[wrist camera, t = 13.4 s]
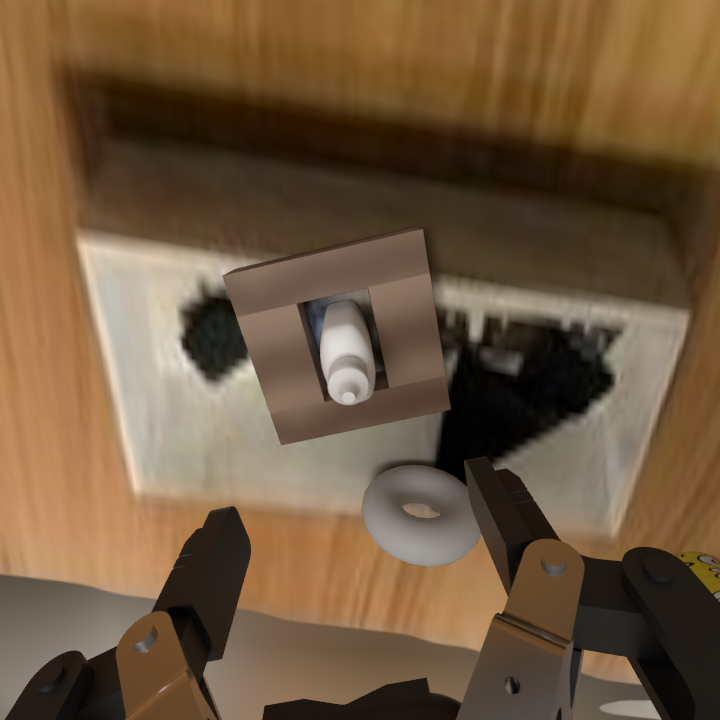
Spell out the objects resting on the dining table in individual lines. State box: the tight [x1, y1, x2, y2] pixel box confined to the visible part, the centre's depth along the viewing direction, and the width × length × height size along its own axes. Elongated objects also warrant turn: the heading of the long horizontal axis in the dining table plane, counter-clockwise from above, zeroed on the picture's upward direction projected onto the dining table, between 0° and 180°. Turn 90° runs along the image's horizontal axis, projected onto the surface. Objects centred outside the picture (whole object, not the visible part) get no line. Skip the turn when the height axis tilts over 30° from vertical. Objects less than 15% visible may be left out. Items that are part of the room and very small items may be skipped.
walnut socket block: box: [223, 227, 451, 445], centre depth 30 cm, size 14×14×4 cm
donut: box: [362, 465, 481, 567], centre depth 33 cm, size 10×4×10 cm, turn 88°
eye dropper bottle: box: [320, 300, 375, 405], centre depth 26 cm, size 4×6×12 cm
